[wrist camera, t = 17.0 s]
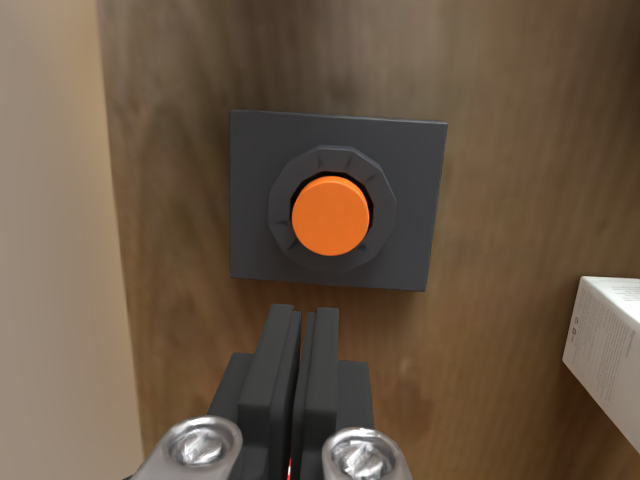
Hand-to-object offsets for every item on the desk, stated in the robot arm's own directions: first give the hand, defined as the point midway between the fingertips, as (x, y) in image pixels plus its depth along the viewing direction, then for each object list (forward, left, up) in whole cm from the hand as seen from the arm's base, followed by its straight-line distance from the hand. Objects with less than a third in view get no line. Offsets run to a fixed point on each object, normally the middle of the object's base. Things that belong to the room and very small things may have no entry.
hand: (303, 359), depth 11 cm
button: (0, 0, -15) cm, 15 cm away
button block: (0, 0, -18) cm, 18 cm away
